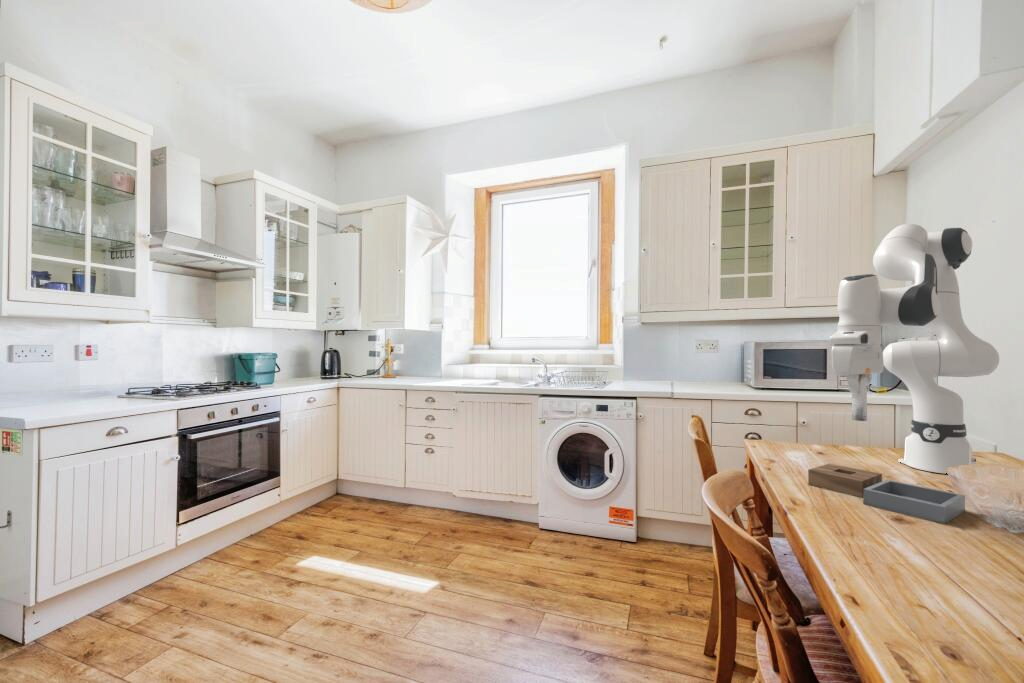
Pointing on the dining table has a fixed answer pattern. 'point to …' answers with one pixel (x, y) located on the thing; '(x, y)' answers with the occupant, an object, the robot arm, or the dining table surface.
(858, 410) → the clear capped tube
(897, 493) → the tray
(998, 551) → the dining table surface
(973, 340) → the robot arm
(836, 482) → the block
